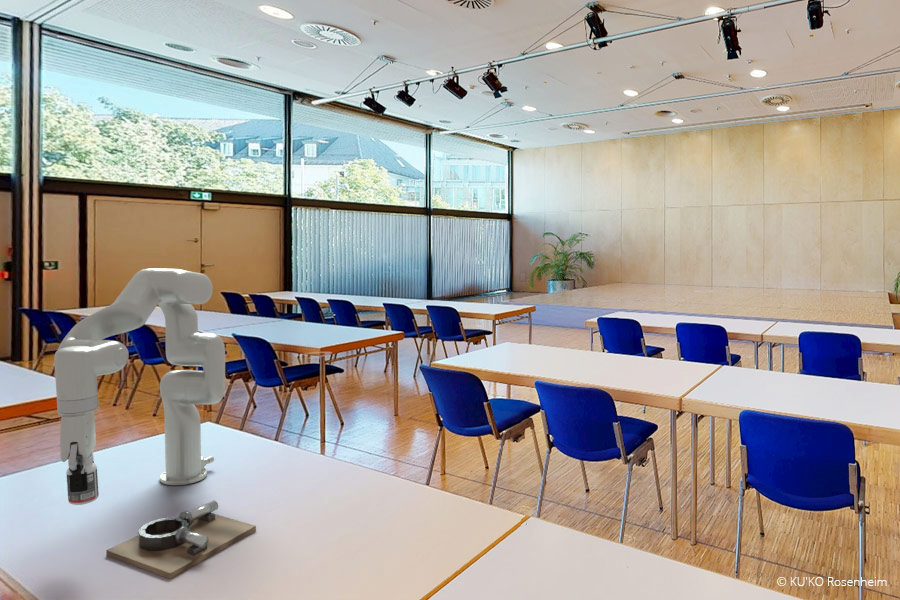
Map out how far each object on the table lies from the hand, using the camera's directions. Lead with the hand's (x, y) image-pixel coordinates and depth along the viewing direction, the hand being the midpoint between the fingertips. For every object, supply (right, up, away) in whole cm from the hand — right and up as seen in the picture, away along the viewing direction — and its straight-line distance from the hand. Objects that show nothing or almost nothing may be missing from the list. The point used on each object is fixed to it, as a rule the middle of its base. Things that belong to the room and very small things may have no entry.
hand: (82, 484), depth 132 cm
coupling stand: (+19, -15, +7) cm, 26 cm away
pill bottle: (0, -4, +1) cm, 4 cm away
